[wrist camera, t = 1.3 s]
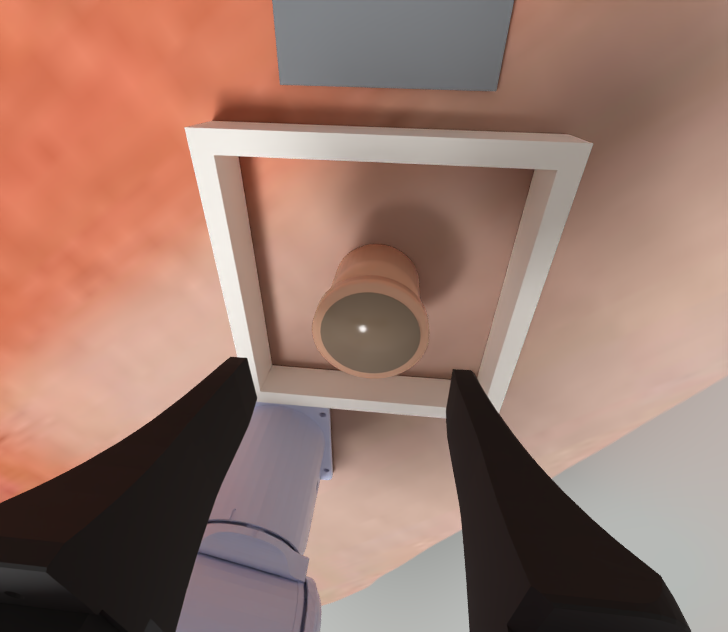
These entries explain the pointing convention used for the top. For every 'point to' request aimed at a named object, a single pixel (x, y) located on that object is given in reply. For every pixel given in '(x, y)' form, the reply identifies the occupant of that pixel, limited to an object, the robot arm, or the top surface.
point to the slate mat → (392, 43)
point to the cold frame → (388, 145)
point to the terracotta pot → (372, 314)
